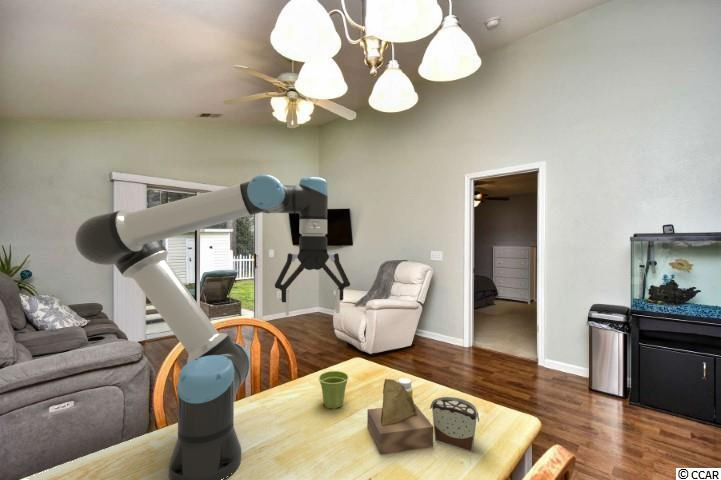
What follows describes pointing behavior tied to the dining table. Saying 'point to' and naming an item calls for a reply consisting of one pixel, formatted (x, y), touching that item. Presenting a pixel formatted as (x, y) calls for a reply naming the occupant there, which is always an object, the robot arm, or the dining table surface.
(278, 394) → the dining table surface
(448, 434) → the food container
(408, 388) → the supplement bottle
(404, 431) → the walnut block
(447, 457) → the dining table surface
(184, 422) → the robot arm
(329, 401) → the plant pot
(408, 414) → the rock
